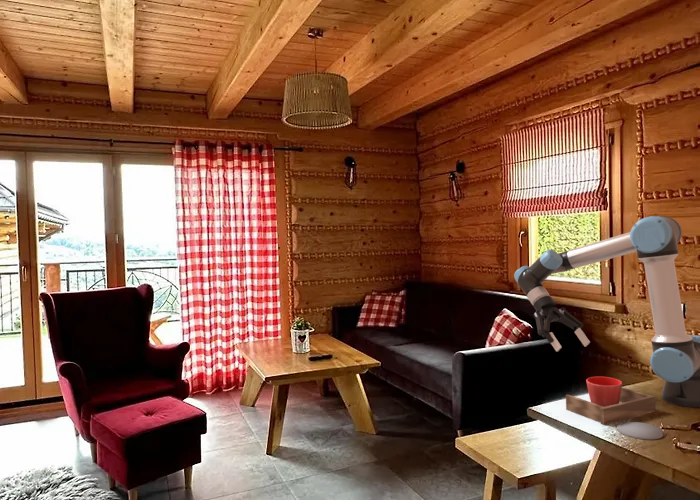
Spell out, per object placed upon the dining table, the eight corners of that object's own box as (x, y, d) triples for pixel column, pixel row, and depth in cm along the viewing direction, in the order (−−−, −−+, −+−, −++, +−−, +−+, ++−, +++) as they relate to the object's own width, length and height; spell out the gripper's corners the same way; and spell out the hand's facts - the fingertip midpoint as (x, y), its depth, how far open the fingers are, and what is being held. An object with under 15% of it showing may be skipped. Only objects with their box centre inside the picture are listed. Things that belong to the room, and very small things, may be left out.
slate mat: (651, 423, 156) (651, 421, 156) (671, 439, 144) (671, 437, 144) (611, 423, 157) (610, 422, 157) (627, 439, 145) (626, 437, 145)
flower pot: (627, 415, 164) (626, 385, 164) (591, 414, 166) (590, 385, 166) (617, 404, 174) (616, 376, 174) (583, 403, 177) (582, 376, 176)
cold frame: (564, 409, 171) (564, 395, 171) (614, 398, 180) (614, 384, 180) (604, 424, 157) (603, 409, 157) (655, 411, 166) (655, 396, 166)
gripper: (560, 303, 201) (593, 348, 188) (511, 310, 192) (541, 357, 178) (571, 291, 196) (604, 336, 183) (520, 297, 186) (552, 345, 173)
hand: (573, 347), depth 180 cm, fingers open, 13 cm apart
